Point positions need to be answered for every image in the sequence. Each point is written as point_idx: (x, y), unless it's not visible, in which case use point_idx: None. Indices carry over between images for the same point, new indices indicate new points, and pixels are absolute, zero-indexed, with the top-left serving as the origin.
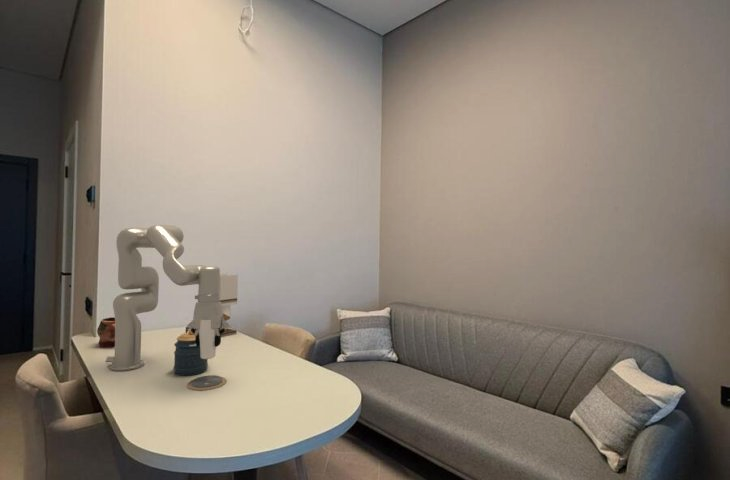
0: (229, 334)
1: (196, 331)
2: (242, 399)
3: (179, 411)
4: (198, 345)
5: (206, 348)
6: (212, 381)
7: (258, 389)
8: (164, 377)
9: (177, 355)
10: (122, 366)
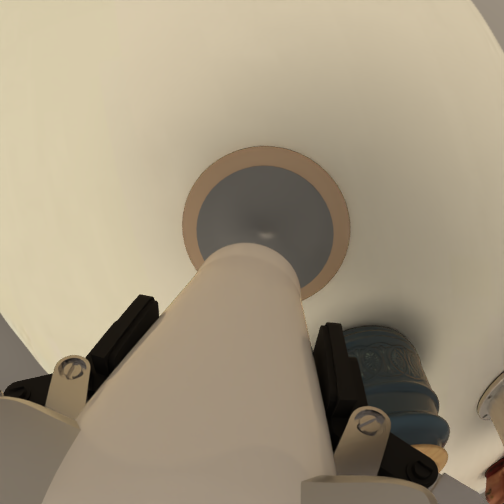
0: None
1: (367, 456)
2: (91, 64)
3: None
4: (321, 330)
5: (228, 272)
6: (234, 217)
7: (61, 155)
8: (440, 315)
9: (428, 387)
10: None
